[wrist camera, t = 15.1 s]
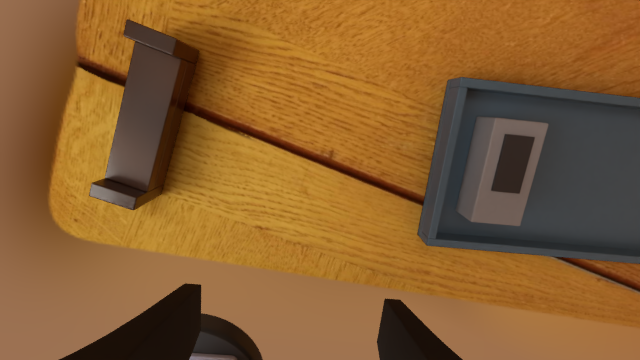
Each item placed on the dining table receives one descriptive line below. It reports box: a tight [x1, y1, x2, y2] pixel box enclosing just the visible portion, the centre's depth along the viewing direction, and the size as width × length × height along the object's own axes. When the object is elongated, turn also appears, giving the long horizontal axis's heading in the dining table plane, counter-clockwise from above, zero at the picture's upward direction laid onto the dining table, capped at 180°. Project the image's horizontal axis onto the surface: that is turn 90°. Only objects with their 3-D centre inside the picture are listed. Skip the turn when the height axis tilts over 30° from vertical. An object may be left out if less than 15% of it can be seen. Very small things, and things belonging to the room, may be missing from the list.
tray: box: [418, 77, 640, 264], centre depth 19 cm, size 10×26×2 cm, turn 84°
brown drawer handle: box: [89, 20, 200, 210], centre depth 16 cm, size 9×2×3 cm, turn 159°
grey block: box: [456, 117, 548, 226], centre depth 17 cm, size 6×3×2 cm, turn 174°
